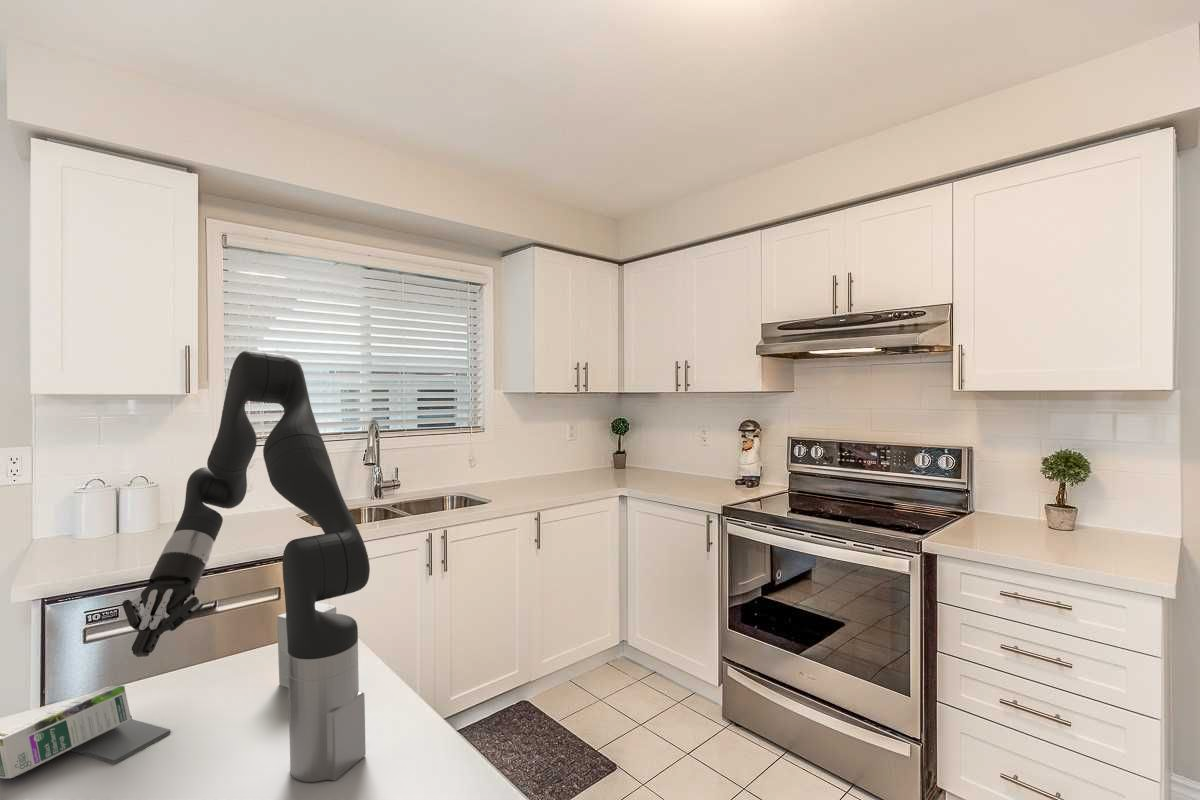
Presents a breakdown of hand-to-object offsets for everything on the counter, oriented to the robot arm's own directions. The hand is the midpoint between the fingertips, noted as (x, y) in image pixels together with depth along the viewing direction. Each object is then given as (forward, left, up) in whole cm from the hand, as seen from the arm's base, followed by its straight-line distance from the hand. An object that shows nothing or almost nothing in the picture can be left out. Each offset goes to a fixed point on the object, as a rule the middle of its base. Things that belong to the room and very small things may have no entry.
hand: (140, 654), depth 97 cm
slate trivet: (-3, +6, -10) cm, 12 cm away
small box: (-17, -19, -11) cm, 27 cm away
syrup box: (-1, +3, -6) cm, 7 cm away
